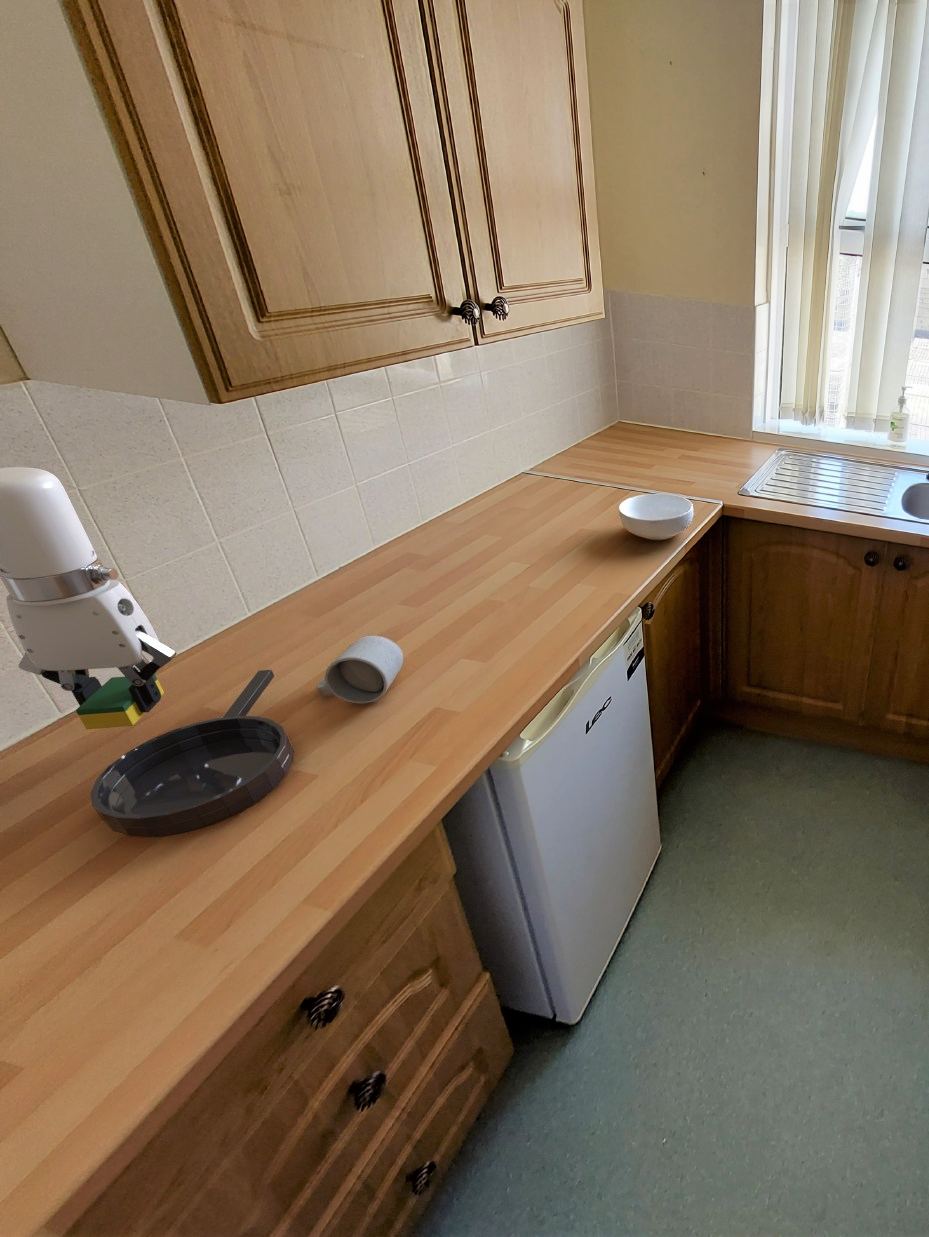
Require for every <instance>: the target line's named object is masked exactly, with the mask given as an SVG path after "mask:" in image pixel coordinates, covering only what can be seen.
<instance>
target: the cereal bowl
mask: <svg viewBox="0 0 929 1237" xmlns="http://www.w3.org/2000/svg"><path fill="white" fill-rule="evenodd" d="M618 514H619V519H620V522H621V524H622V525H623V528H625V529H626V530H627V531H628V532H630V533H631V534H633V535H635V536H637V537H640V538H644V539H646V540H650V541H651V540H652V541H664V540H669V539H671V538H673V537H675V536H677V535H679V534H681V533H682V532H685V531H686V530H687V529H688V528H689V526H690V525H691V524H692V522H693V519H694V518H693V517H694V505H693V502H692V501H691V500H689V499H688V498H686V497H683V496H680V495H676V494H669V493H645V494H640V495H635V496H631V497H628V498H627V499H625V500H623V501H622V502H621V503H620V504H619V506H618Z"/></svg>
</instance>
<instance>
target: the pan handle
mask: <svg viewBox="0 0 929 1237" xmlns="http://www.w3.org/2000/svg"><path fill="white" fill-rule="evenodd" d="M274 678H275V675H274V672H273V669H262V670H258V671H257V672H255V675H254V676H253V677H252V679H251V680H250V681H249V682H248V684H247V685H246V686H245V687H244V689H243V690H242V692H240V694H239V695H238V697H237V698H236V699H235V700H234V702H233V703H232V704H231V706H229V708H228V709H227V711H226V712H225V713H224V715H223V716H222V717H232V716H248V713H249V712H250V711H251V709H253V706H254V705H255V704H256V703H257V701H258V700H259V698H260V697H261V695H262V694H263V693H264V691H265V690H266V688H268V686H269V684H270V683H271V682H272V680H273V679H274Z"/></svg>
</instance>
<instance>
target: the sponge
mask: <svg viewBox="0 0 929 1237" xmlns="http://www.w3.org/2000/svg"><path fill="white" fill-rule="evenodd" d="M153 678H154V680H155V682H156V684H157V686H158V688H159V690H160V693H161V697H162V696H163V695H164V694H165V691H164V690H163V688H162V685H161V684H160V681H159V679H158V677H157V675H156V674H154V675H153ZM131 685H132V683H131V682H130V681H129V680H128V679H127V678H126V677H125V676H113V677H110V678H109V679H108V680H107V681H106V682H105V683H103V685H101V686H102V687H101V688H99V689H98V690H97V691H96V692H95V693H94V694H93V695H92V696H91V697H90V698H88V699H87V700H86V701H85V702H84V703H83V704H82V705H81V706H80V705H79V707H77V708H76V709H75V712H76V714H77V715H78V718H79V719H80V721H81V723H82V724H83V726H84V727H85V729H86V730H96V729H97V730H98V729H108V728H109V729H110V728H121V727H132V726H134V725H135V724H136V723H137V722H138V721H139V720H140V719H141V718H142V717H143V716H144V715H145V713H142V712H141V711H140V710H139V708H138V706H137V704H136V702H135V700H134V698H133V697H132V695H131V693H130V691H129V687H130V686H131Z"/></svg>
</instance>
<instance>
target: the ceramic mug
mask: <svg viewBox="0 0 929 1237" xmlns="http://www.w3.org/2000/svg"><path fill="white" fill-rule="evenodd" d="M403 663H404V653H403V651H402V649H401V647H400V646H399V645H398V643H396V642H395V641H394V640H392V639H390V638H388V637H386V636H382V635H375V634H374V635H366V636H362V637H360V638H358V639H357V640H354V641H353V642H352V643H351V644H349V645H348V646H347V648H346V649H345V650H344V651H343V652H342V653H341V654H339V656H337V658H335V659H334V660H333V661H332V662H331V663H330V664H329V666H328V667H327V668H326V671H325V674H324V678H323V679H321V680H320V682H319V683H318V684H317V686H316V689H317V690H318V692H320V693H321V695H323V696H325V697H327V696H332V695H334V696H336V698H339V699H341V700H342V701H345V702H348V703H353V704H359V705H362V704H370V703H373V702H376V701H379V699H381V698H382V697H383V696H384V695H385V694H386V693H387V691H388V689H389V687H391V685H392V683H393V682H394V680H395V679H396V676H397V675H398V674H399V672H400V671H401V669H402V666H403Z"/></svg>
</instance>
